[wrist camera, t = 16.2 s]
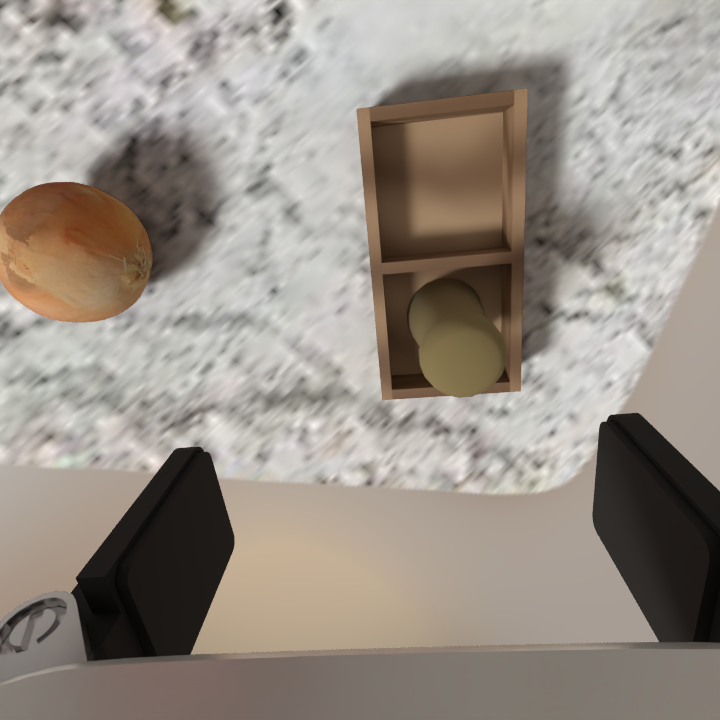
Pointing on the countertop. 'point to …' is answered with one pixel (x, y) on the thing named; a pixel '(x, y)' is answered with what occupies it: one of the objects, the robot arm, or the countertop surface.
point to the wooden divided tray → (445, 219)
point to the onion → (73, 252)
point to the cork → (455, 338)
